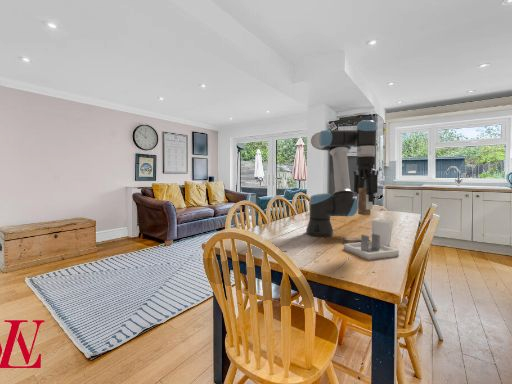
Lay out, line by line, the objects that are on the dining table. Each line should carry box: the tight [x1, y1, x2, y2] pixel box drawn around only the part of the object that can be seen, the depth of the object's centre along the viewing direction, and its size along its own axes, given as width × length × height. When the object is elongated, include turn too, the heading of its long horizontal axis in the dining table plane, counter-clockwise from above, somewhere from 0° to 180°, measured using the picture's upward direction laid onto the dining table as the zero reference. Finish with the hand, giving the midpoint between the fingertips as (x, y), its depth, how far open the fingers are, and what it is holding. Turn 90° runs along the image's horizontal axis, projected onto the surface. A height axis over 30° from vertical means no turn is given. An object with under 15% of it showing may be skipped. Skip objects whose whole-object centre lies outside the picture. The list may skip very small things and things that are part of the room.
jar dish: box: [343, 233, 400, 261], centre depth 117 cm, size 16×16×8 cm
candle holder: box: [370, 218, 394, 247], centre depth 132 cm, size 10×10×12 cm
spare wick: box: [342, 237, 371, 244], centre depth 133 cm, size 12×5×2 cm, turn 85°
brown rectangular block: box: [357, 187, 371, 217], centre depth 117 cm, size 5×2×12 cm, turn 17°
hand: (364, 208), depth 117 cm, fingers closed on brown rectangular block, 5 cm apart
